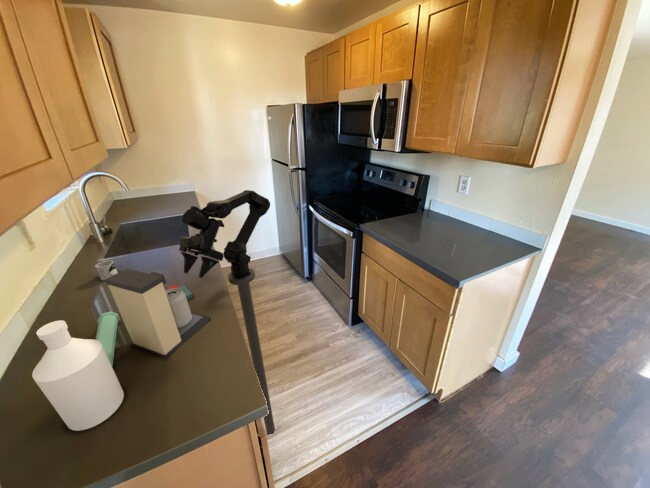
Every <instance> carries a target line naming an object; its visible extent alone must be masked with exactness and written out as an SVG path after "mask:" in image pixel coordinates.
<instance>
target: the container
mask: <svg viewBox="0 0 650 488" xmlns="http://www.w3.org/2000/svg"><path fill="white" fill-rule="evenodd" d="M120 320H121V319H120V316H119V314H118V313H116V312H113V311H107V312H104V313H101V314H100V315H99V317H98V319H97V323H98V326H97V331H96V335H95V340H98V341H100V343H101V344H102V346H103V348H104V350H105V353H106V355H107V357H108V359H109V361H110V364H111V366H112V367H113V366H114V365H113V364H114V357H115V347H116V339H117V332H118V324H119V322H120Z"/></svg>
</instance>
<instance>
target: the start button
mask: <svg viewBox="0 0 650 488" xmlns="http://www.w3.org/2000/svg"><path fill="white" fill-rule="evenodd" d="M178 286H179V285H175V284H174V285H171V286H169V287H168V288H167V290H169V289H173V288H179V287H178Z"/></svg>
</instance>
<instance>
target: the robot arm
mask: <svg viewBox="0 0 650 488" xmlns="http://www.w3.org/2000/svg"><path fill="white" fill-rule="evenodd" d="M245 204H248V210H249V213H248V215H247V217H246V219H245V220H244V222H243V224H242V226H241V228H240V229H239V232H238V234H237V236H236V238H235V239H234V240H233V241H228V242H227V243H226V246H225V247H224V248H223V250H224V251H223V252H221V251H218V250H216V249H214V248H213V246H214V243H217V242H218V239H216V237H217V235H218V233H219V229H220V228H225V224H224V222H223V220H222V219H226V218H227V217H228V216H230V215H231V213H232V211H233V210H235V209H237V208H239V207H241V206H243V205H245ZM270 207H271V202H270V200H269V199H268V198H267V197H264V196H263V195H261V194H259V193H257V192H256V191H255V190H251V189H250V190H248V189H246V190H243V191H242V192H240V193H237V194H235V195H233V196H230V197H228V198H225V199H222V200H213V201H209V202H207V204H206V206H204V207H203V208H201V209H200V208H199V207H198V206H195V205H191V206H190V208H189V209H187V210H186V211H185V212H184V213H183V214H182V217H181V221H182V224H184V225H187V226H189V227H191V228H194V229H195V230H198V231H199V233H196V234H194V235H190V236H179V242H178V243H179V245H178V246H179V249H178V251H179V252H180V254H181V255H182V257H183V273H184V274H187V275H188V274H189V271H190V270H191V269H192V268H193V266H194V265H195V263H196V262H197V260H198V259H199V255H201V256H200V259H201V261H202V263H201V267H200V270H199V274H198V278H200V279H202V278H203V277H204V276H205V275H206V274H207V273H208V272H209V271H210V270H212V268H213V267H215V266H216V265H217V264H220V262H223V260H224V259H225V261H227V263H229V264H230V273H231V272H232V275H233V276H234V277H235V278H237V279H241V278H243V277H246V276H248V275H251V272H249V268H250V266H249V263H250V262H251V259H252V257H251V256H250V255H249V254H247V252H248V251H247V250H248V249H247V244H248V243H249V241H250V238H251V237H252V234H253V232H254V230H255V229H256V226H257V225H258V222H259V220H260V218H261V217H263V216H264V215H266V214H267V212H268V211H269V210H270Z"/></svg>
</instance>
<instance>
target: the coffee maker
mask: <svg viewBox="0 0 650 488" xmlns="http://www.w3.org/2000/svg"><path fill="white" fill-rule="evenodd" d="M103 281H104V282H105V284H106V285H107V286H108V288H109V291H110V293H111V295H112V297H113V300H114V302H115V304H116V307H117V309H118V312H119V314H120V316H121V319H122V320H123V323H124V326H125V328H126V331H127V333H128V335H129V337H130V340H131V344H132V346H133V347H137V348H139V349H142V350H145V351H147V352H150V353H152V354H155V355H157V356H160V357H163V358H166V359H169V358H170V357H171V356H172V355H173V354H174V353H175V352H177V350H178V349H180V348H181V347H182V346H183V345H184V344H186V343H187V342H188V341H189V340H190V339H191V338H193V337H194V336H195V335H196V334H197V333H198V332H199V331H200V330H202V329H203V328H204V327H205V326H206V325H208V324H209V323H210V322H211V321H212V317H210V316H207V315H204V314H200V313H196V312H193V311H190V312H191V315H192V319H191V321H190V322H189V323H188V324H187V325H186V326H184V327H181V328H177V326H176V322H175V319H174V316H173V313H172V310H171V307H170V304H169V301H168V298H167V295H166V292H165V291H166V289H165V286H164V285H166V284H167V280H166V277H165V275H164V274H163V273H157V272H155V271H154V272H153V271H151V272H150V273H148V272H143V271H139V270H136V269H131V268H125V269H123V270H121V271H119V272H118V273H117V274H115V275H113V276H111V277H109V278H106V279H104V280H103Z"/></svg>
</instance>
